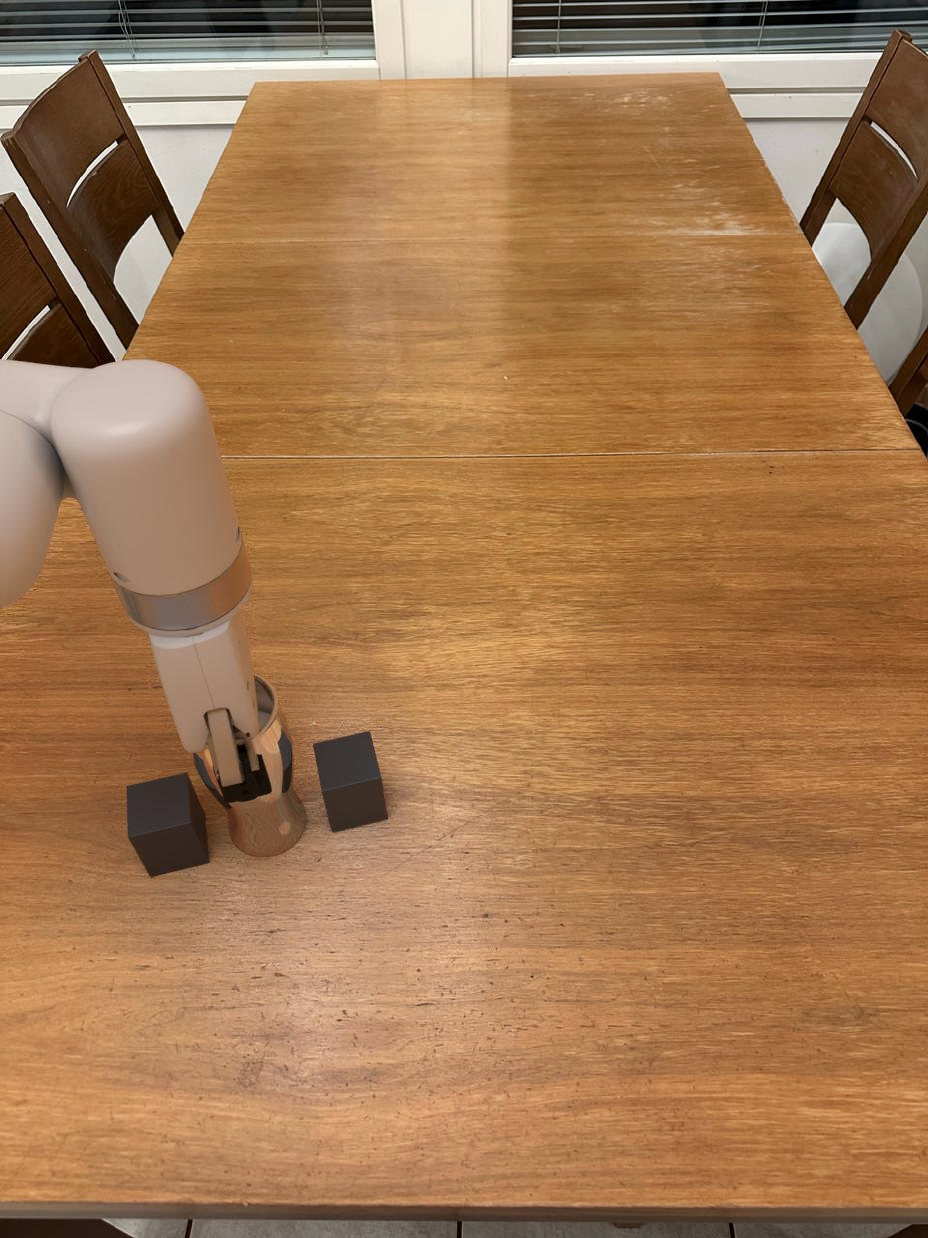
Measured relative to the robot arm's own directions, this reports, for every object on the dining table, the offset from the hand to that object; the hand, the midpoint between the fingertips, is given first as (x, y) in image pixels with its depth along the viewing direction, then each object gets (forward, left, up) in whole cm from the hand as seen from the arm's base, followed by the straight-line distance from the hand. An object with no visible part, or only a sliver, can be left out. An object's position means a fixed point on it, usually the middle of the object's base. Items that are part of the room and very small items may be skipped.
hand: (242, 749), depth 67 cm
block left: (-7, 0, -10) cm, 12 cm away
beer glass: (0, 0, -10) cm, 10 cm away
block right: (+7, 0, -10) cm, 12 cm away
